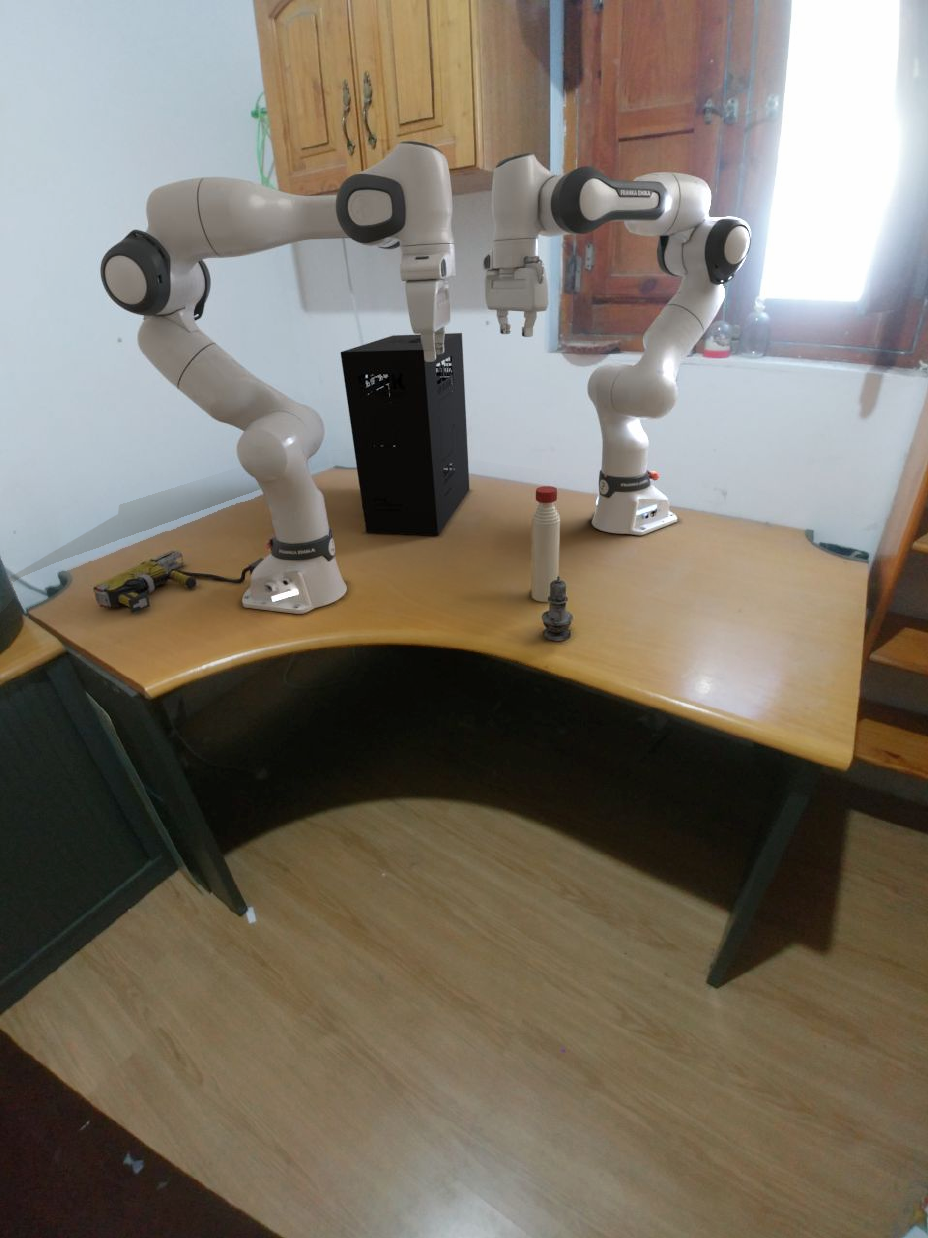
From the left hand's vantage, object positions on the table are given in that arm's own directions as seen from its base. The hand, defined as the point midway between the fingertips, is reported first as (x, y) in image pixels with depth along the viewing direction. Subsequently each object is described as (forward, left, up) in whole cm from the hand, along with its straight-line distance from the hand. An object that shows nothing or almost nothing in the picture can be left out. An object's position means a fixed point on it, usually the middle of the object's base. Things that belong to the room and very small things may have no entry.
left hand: (435, 357), depth 106 cm
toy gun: (-68, +1, -47) cm, 83 cm away
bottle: (+20, 0, -47) cm, 51 cm away
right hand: (+13, +25, +1) cm, 28 cm away
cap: (+20, 0, -24) cm, 31 cm away
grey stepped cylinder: (+22, -15, -47) cm, 54 cm away
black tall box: (-16, +53, -47) cm, 73 cm away
